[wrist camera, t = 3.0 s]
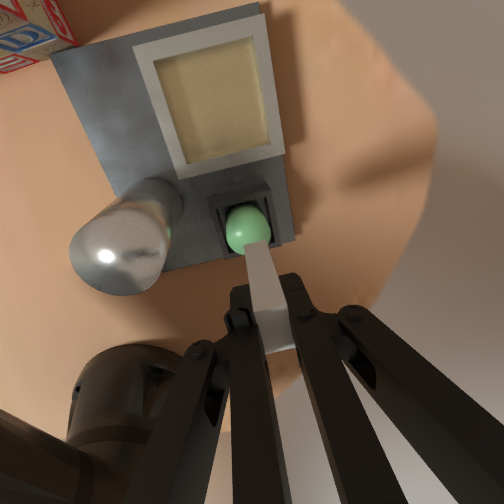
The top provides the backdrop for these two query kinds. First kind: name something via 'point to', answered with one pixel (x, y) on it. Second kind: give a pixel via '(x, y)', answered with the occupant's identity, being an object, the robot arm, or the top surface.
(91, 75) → the panel
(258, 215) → the button
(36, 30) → the stack of blocks
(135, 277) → the cylinder
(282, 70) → the top surface
